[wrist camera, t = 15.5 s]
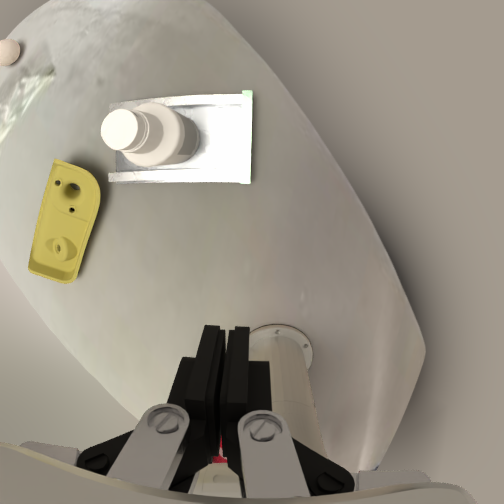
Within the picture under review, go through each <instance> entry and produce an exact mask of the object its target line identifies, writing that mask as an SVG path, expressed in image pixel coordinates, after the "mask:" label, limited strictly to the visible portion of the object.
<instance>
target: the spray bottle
mask: <svg viewBox="0 0 504 504" xmlns="http://www.w3.org/2000/svg"><path fill="white" fill-rule="evenodd" d="M101 136H102V138H103V140H104V142H105V143H106V144H107V145H108V146H109V147H110V148H112V149H114V150H119V151H121V152H122V153H123V154H124V156H125V157H126V158H127V159H128V160H129V161H130V162H132V163H134V164H135V165H137V166H142V167H153V166H162V165H171V164H180V163H183V162H185V161H187V160H188V159H190V158H191V157H192V156H193V155H194V153H195V152H196V150H197V149H198V145H199V141H200V137H199V131H198V128H197V126H196V125H195V123H194V122H193V121H192V120H191V119H189V118H187V117H185V116H184V115H182V114H180V113H178V112H176V111H175V110H173V109H171V108H169V107H167V106H165V105H164V104H161V103H155V102H150V103H145V104H141V105H139V106H137V107H135V108H134V109H131V110H127V109H117V110H114V111H113V112H111V113H110V114H109V115H108V116H107V117H106V118H105V120H104V121H103V123H102V127H101Z"/></svg>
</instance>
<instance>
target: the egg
mask: <svg viewBox="0 0 504 504" xmlns="http://www.w3.org/2000/svg"><path fill="white" fill-rule="evenodd" d="M19 54H20V46H19V44H18V43H17V42H16V41H15V40H12V39H4V40H1V41H0V66H7V65H10V64H12V63H13V62H15V61H16V60H17V58H18V57H19Z"/></svg>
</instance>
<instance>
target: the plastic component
mask: <svg viewBox="0 0 504 504" xmlns="http://www.w3.org/2000/svg"><path fill="white" fill-rule="evenodd" d="M57 180H59V181H60V182H61V184H59V185H58V184H57V183H56V181H57ZM70 183H75V184H77V185H78V186H79V187H80V190H74V189H73V188H71V186H70ZM99 204H100V188H99V184H98V182H97V180H96V179H95V177H94V176H93V175H92V174H91V173H90V172H89V171H87V170H85V169H83V168H80V167H78V166H75V165H72V164H69V163H66V162H64V161H61V160H58V159H54V162H53V165H52V169H51V172H50V175H49V179H48V182H47V186H46V189H45V193H44V196H43V200H42V204H41V208H40V212H39V216H38V220H37V225H36V229H35V234H34V239H33V244H32V249H31V254H30V259H29V265H28V270H29V271H30V272H31V273H33V274H36V275H39V276H42V277H44V278H47V279H50V280H54V281H57V282H60V283H64V284H67V283H71V282H73V281H74V280H75V279H76V277H77V274H78V271H79V267H80V264H81V261H82V257H83V254H84V251H85V248H86V245H87V242H88V239H89V236H90V233H91V230H92V227H93V224H94V221H95V218H96V215H97V212H98V208H99ZM71 207H72V208H74V209H75V211H72V210H70V208H71ZM60 248H61V250H60Z"/></svg>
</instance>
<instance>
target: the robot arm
mask: <svg viewBox="0 0 504 504" xmlns="http://www.w3.org/2000/svg"><path fill="white" fill-rule="evenodd" d="M249 333H250V327H238V326H235V330H229V336H228V343H227V350H226V340H225V330H220V326H215V325H205V326H204V330H203V333H202V337H201V340H200V344H199V347H198V351H197V355H196V358H192V357H182V359H181V362H180V365H179V368H178V371H177V374H176V377H175V380H174V383H173V386H172V389H171V392H170V395H169V398H168V401H167V403H166V404H158V405H155V406H153V407H151V408H149V409H148V410H147V411H146V412H145V413H144V414H143V416H142V418H141V419H140V421H139V423H138V424H137V426H136V428H135V429H134V430H132V431H130V432H127V433H125V434H123V435H120V436H118V437H115V438H113V439H110V440H108V441H106V442H103V443H101V444H98V445H95V446H93V447H90V448H88V449H86V450H84V451H83V452H82V451H79V450H78V449H77V448H71V447H63V446H56V445H50V444H44V443H38V442H30V441H29V442H25V443H22V444H21V445H20V446H17V445H13V444H9V443H2V442H0V504H477V502H476V501H475V499H474V498H473V496H472V495H471V494H470V493H469V492H468V491H467V490H465V489H464V488H462V487H460V486H457V485H453V484H448V483H439V482H431V480H430V478H429V477H428V475H427V474H425V473H424V472H421V471H419V470H402V471H359V473H350V472H348V471H347V470H346V469H344V468H343V467H341V466H339V465H337V464H336V463H334V462H332V461H330V460H329V459H328V456H327V454H326V451H325V448H324V444H323V441H322V437H321V432H320V428H319V423H318V418H317V414H316V409H315V404H314V399H313V395H312V390H311V385H310V380H309V376H308V371H307V370H308V369H309V367H310V365H311V363H312V359H313V351H312V347H311V344H310V341H309V340H308V338H307V337H306V336H305V335H304V334H303V333H302V332H300V331H299V330H297V329H295V328H293V327H290V326H285V325H268V326H264V327H261V328H259V329H256V330H254V331H253V332H251V333H250V334H249ZM221 437H222V450H223V457H227V463H212V459H213V456H217V457H218V456H219V449H220V440H221Z"/></svg>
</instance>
